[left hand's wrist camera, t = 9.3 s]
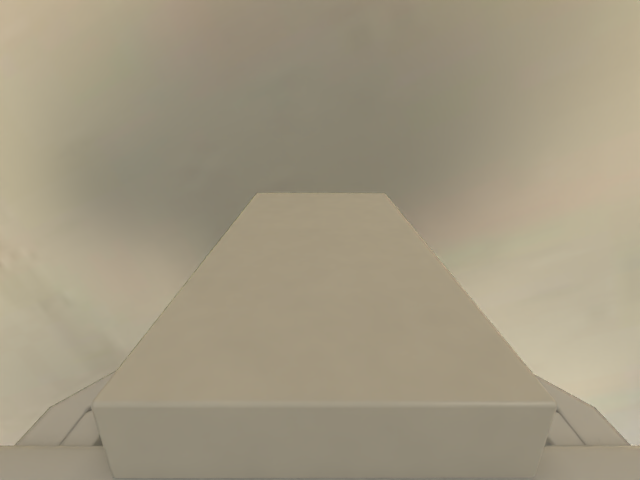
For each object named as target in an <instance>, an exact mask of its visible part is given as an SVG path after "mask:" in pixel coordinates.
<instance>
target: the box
mask: <svg viewBox="0 0 640 480" xmlns="http://www.w3.org/2000/svg"><path fill="white" fill-rule="evenodd" d="M91 409H92V412H93V415H94V418H95V422H96V425H97V428H98V431H99V435H100V438H101V441H102V444H103V448H104V451H105V454H106V457H107V461H108V464H109V467H110V470H111V474H112V477H114V478H532V477H534V476H535V474H536V471H537V468H538V465H539V462H540V459H541V456H542V452H543V449H544V446H545V443H546V440H547V437H548V434H549V431H550V428H551V424H552V421H553V418H554V415H555V412H556V409H557V404H556V401H555V400H554V398H553V397H552V396H551V395H550V394H549V392H548V391H547V390H546V389H545V388H544V386H543V385H542V384H541V383H540V381H539V380H538V379H537V378H536V377H535V375H534V374H533V373H532V372H531V370H530V369H529V368H528V367H527V366H526V364H525V363H524V362H523V361H522V360H521V358H520V357H519V356H518V355H517V353H516V352H515V351H514V350H513V349H512V347H511V346H510V345H509V344H508V342H507V341H506V340H505V339H504V338H503V336H502V335H501V334H500V333H499V332H498V330H497V329H496V328H495V327H494V325H493V324H492V323H491V322H490V321H489V319H488V318H487V317H486V316H485V314H484V313H483V312H482V311H481V310H480V308H479V307H478V306H477V305H476V304H475V302H474V301H473V300H472V299H471V297H470V296H469V295H468V294H467V293H466V291H465V290H464V289H463V288H462V286H461V285H460V284H459V283H458V282H457V280H456V279H455V278H454V277H453V276H452V274H451V273H450V272H449V271H448V269H447V268H446V267H445V266H444V265H443V263H442V262H441V261H440V260H439V258H438V257H437V256H436V255H435V254H434V252H433V251H432V250H431V249H430V248H429V246H428V245H427V244H426V243H425V241H424V240H423V239H422V238H421V237H420V235H419V234H418V233H417V232H416V230H415V229H414V228H413V227H412V226H411V224H410V223H409V222H408V221H407V219H406V218H405V217H404V216H403V215H402V213H401V212H400V211H399V210H398V209H397V207H396V206H395V205H394V204H393V202H392V201H391V200H390V199H389V198H388V196H387V195H386V194H385V193H256V195H255V196H254V197H253V198H252V200H251V201H250V202H249V204H248V205H247V206H246V207H245V209H244V210H243V211H242V212H241V214H240V215H239V216H238V217H237V219H236V220H235V221H234V223H233V224H232V225H231V226H230V228H229V229H228V230H227V231H226V233H225V234H224V235H223V236H222V238H221V239H220V240H219V242H218V243H217V244H216V245H215V247H214V248H213V249H212V250H211V252H210V253H209V254H208V255H207V257H206V258H205V259H204V261H203V262H202V263H201V264H200V266H199V267H198V268H197V269H196V271H195V272H194V273H193V274H192V276H191V277H190V278H189V280H188V281H187V282H186V283H185V285H184V286H183V287H182V288H181V290H180V291H179V292H178V293H177V295H176V296H175V297H174V299H173V300H172V301H171V302H170V304H169V305H168V306H167V307H166V309H165V310H164V311H163V312H162V314H161V315H160V316H159V318H158V319H157V320H156V321H155V323H154V324H153V325H152V326H151V328H150V329H149V330H148V331H147V333H146V334H145V335H144V337H143V338H142V339H141V340H140V342H139V343H138V344H137V345H136V347H135V348H134V349H133V350H132V352H131V353H130V354H129V356H128V357H127V358H126V359H125V361H124V362H123V363H122V364H121V366H120V367H119V368H118V369H117V371H116V372H115V373H114V375H113V376H112V377H111V378H110V380H109V381H108V382H107V383H106V385H105V386H104V387H103V388H102V390H101V391H100V392H99V394H98V395H97V396H96V397H95V399H94V400H93V401H92V404H91Z"/></svg>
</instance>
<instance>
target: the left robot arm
mask: <svg viewBox="0 0 640 480" xmlns="http://www.w3.org/2000/svg"><path fill="white" fill-rule="evenodd" d="M115 372H116V371H115ZM115 372H113V373H111V374H109V375H108V376H106V377H104V378H102V379H100V380H99V381H97V382H95V383H93V384H91V385H89V386H88V387H86V388H84V389H82V390H80V391H79V392H77V393H75V394H73V395H71V396H70V397H68V398H66V399H64V400H62V401H60V402H59V403H57V404H55V405H53V406H51V407H50V408H49V409H48V410H47V411H46V412H45V413H44V414H43V415H42V416H41V417H40V418H39V419H38V421H37V422H36V423H35V424H34V425H33V426H32V427H31V428H30V429H29V430H28V431H27V432H26V434H25V435H24V436H23V437H22V438H21V439H20V440H19V441H18V442H17V443H16V444H15V445H14V446H0V480H640V446H631V445H630V444H629V443H628V442H627V441H626V440H625V439H624V438H623V437H622V436H621V435H620V433H619V432H618V431H617V430H616V429H615V428H614V427H613V426H612V425H611V424H610V423H609V422H608V421H607V420H606V419H605V417H604V416H603V415H602V414H601V413H600V412H599V411H598V410H597V409H596V408H595V407H593V406H591V405H589V404H587V403H586V402H584V401H582V400H580V399H578V398H576V397H575V396H573V395H571V394H569V393H567V392H566V391H564V390H562V389H560V388H558V387H556V386H555V385H553V384H551V383H549V382H547V381H545V380H544V379H542V378H540V377H538V376H536V375H535V377H536V378H537V379H538V380H539V381H540V383H541V384H542V385H543V386H544V388H545V389H546V390H547V391H548V392H549V394H550V395H551V396H552V397H553V398H554V400H555V401H556V404H557V409H556V412H555V415H554V418H553V421H552V424H551V428H550V431H549V434H548V437H547V440H546V443H545V446H544V449H543V452H542V456H541V459H540V462H539V465H538V468H537V471H536V474H535V476H534V477H532V478H114V477H112V474H111V470H110V467H109V464H108V461H107V457H106V454H105V451H104V448H103V444H102V441H101V438H100V435H99V431H98V428H97V425H96V422H95V418H94V415H93V412H92V409H91V404H92V401H93V400H94V399H95V397H96V396H97V395H98V394H99V392H100V391H101V390H102V388H103V387H104V386H105V385H106V383H107V382H108V381H109V380H110V378H111V377H112V376H113V375H114V373H115Z"/></svg>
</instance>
